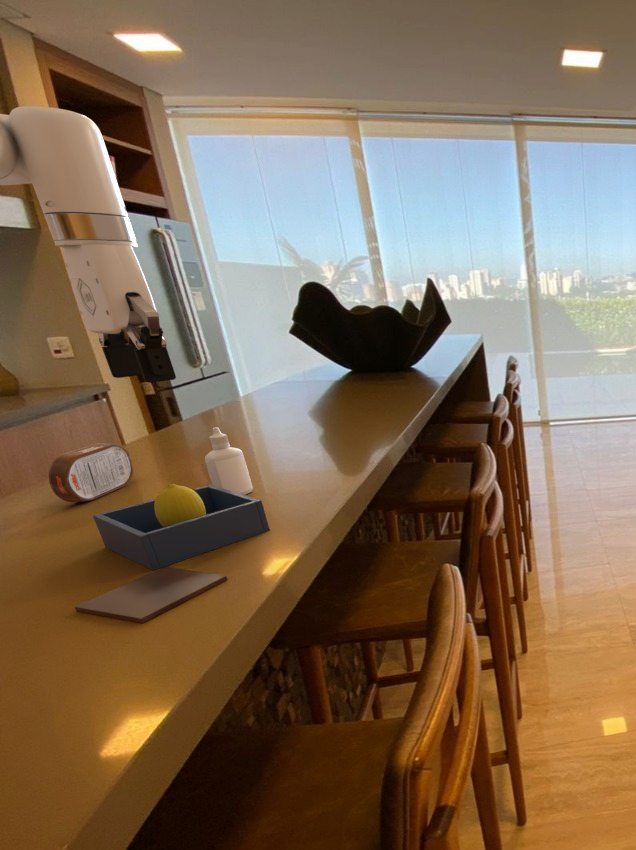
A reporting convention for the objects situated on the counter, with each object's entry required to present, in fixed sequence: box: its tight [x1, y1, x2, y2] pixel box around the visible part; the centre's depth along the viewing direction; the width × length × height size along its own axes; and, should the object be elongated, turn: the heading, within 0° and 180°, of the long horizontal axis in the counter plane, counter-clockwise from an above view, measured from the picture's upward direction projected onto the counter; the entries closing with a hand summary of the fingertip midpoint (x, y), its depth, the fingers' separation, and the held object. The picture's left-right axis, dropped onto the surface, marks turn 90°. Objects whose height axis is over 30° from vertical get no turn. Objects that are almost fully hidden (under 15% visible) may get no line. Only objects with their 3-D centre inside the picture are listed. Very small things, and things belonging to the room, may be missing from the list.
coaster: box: [74, 566, 228, 624], centre depth 66 cm, size 10×10×1 cm
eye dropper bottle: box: [204, 426, 254, 496], centre depth 96 cm, size 4×6×12 cm
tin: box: [48, 442, 134, 503], centre depth 98 cm, size 15×3×8 cm, turn 6°
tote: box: [92, 484, 271, 571], centre depth 80 cm, size 15×15×5 cm
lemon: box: [154, 483, 206, 528], centre depth 80 cm, size 6×6×8 cm
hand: (144, 378), depth 74 cm, fingers open, 9 cm apart
